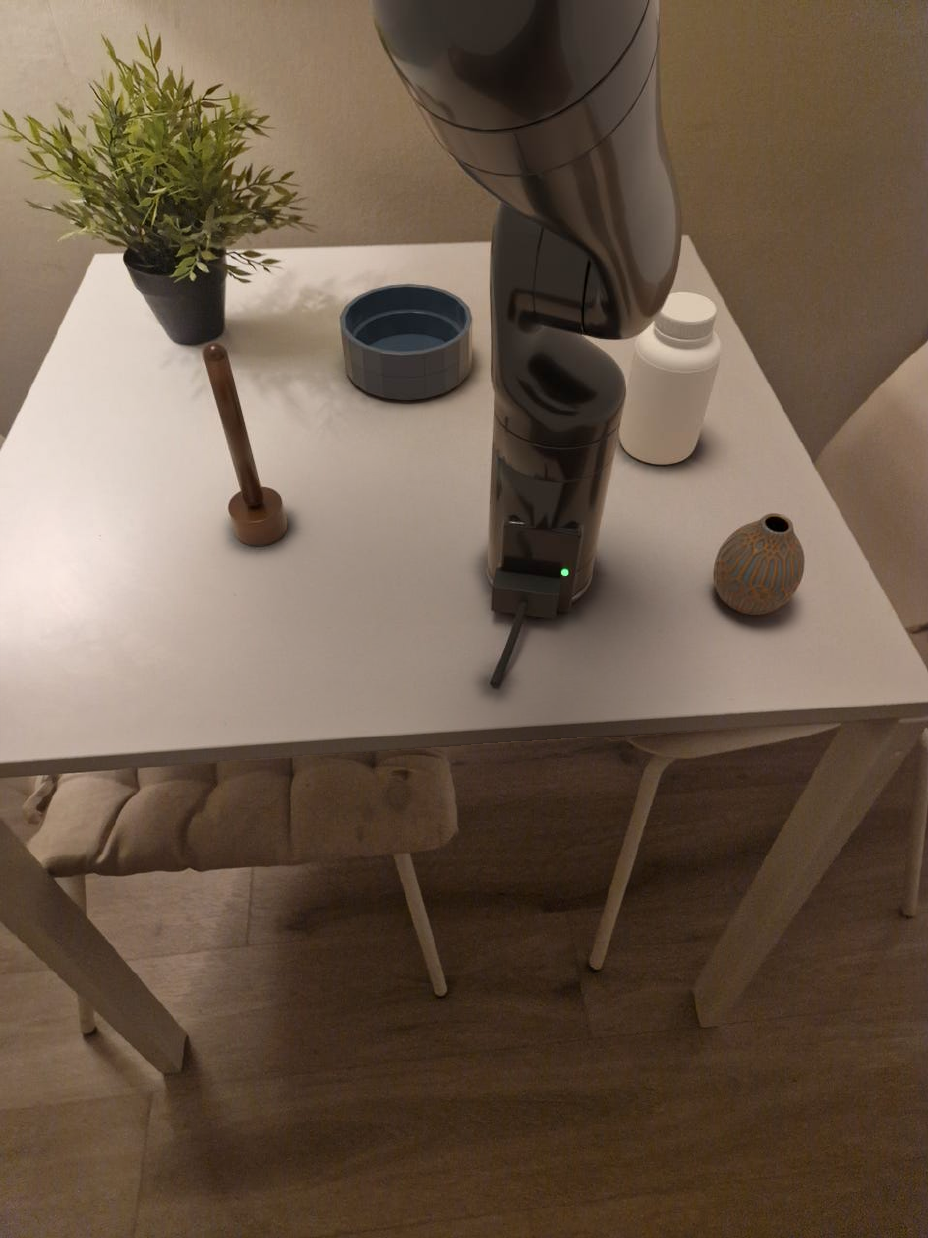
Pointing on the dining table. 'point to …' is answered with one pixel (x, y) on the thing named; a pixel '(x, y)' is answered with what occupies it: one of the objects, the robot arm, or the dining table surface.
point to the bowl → (407, 341)
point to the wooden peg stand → (243, 460)
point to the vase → (759, 566)
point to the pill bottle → (671, 381)
